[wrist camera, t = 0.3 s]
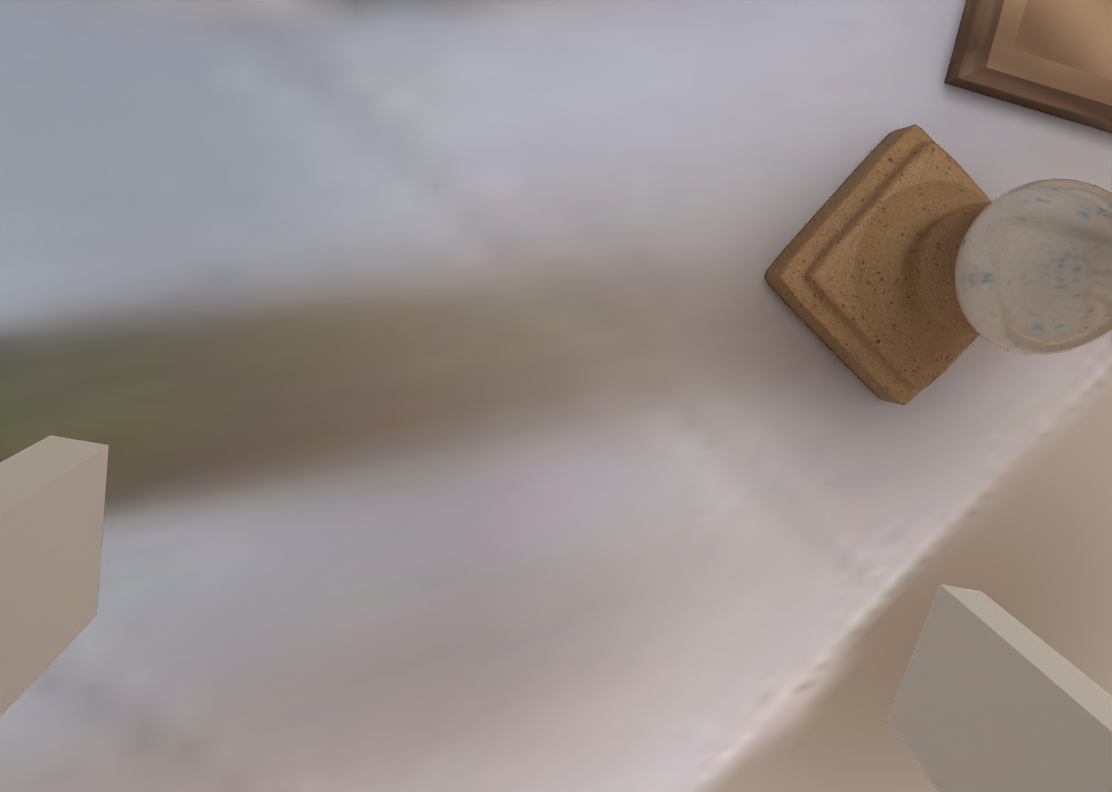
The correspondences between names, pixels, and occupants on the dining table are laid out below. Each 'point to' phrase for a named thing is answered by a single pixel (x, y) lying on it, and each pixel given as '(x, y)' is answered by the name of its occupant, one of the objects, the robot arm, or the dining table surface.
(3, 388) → the dining table surface
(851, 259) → the candle holder
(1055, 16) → the tray
